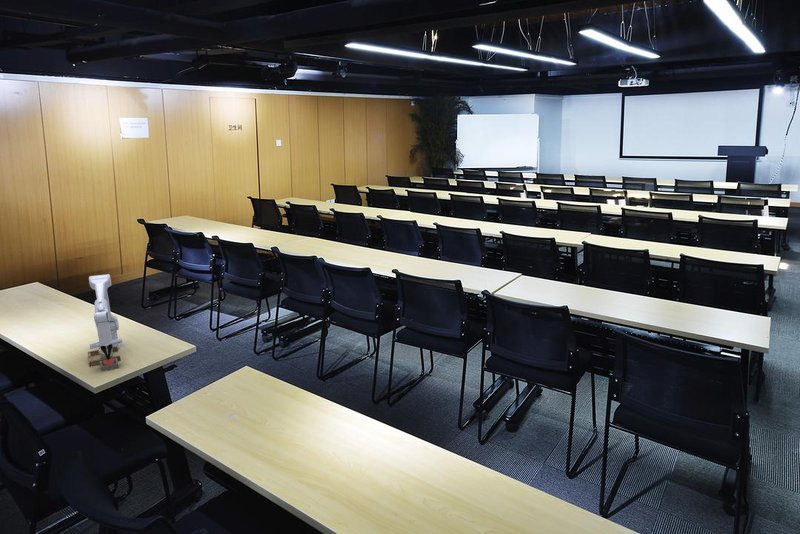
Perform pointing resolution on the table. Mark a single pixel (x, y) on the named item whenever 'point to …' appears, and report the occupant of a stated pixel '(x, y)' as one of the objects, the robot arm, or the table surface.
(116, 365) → the button collar
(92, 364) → the corral
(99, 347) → the spiky grey ball
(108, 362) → the dome button
